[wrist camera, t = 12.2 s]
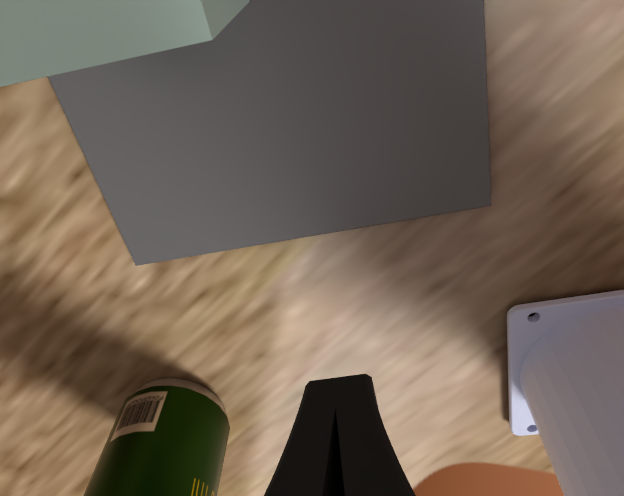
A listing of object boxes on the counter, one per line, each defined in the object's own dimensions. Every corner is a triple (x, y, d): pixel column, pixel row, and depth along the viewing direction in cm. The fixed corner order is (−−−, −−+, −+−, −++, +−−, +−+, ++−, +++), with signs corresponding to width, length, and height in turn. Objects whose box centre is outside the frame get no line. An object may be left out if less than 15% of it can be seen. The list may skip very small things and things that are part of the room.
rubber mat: (467, -318, 12) (471, -325, 12) (488, 200, 20) (491, 205, 19) (-55, -161, 14) (-64, -164, 14) (138, 260, 22) (135, 265, 21)
